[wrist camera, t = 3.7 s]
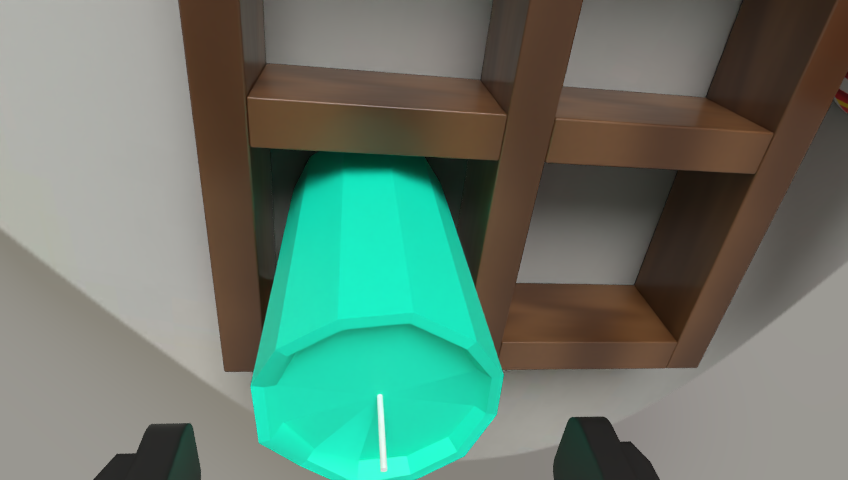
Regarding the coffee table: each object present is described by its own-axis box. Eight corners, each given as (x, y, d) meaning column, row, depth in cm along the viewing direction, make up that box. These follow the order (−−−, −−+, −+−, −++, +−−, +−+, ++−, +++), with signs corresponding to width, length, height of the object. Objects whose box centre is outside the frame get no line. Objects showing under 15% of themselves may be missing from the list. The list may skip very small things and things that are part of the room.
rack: (242, 305, 23) (223, 372, 20) (185, -314, 13) (127, -395, 10) (652, 309, 26) (697, 368, 23) (861, -193, 16) (997, -222, 13)
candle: (363, 99, 19) (376, 311, 9) (472, 199, 22) (579, 451, 11) (261, 209, 21) (171, 490, 11) (373, 289, 23) (389, 575, 13)
